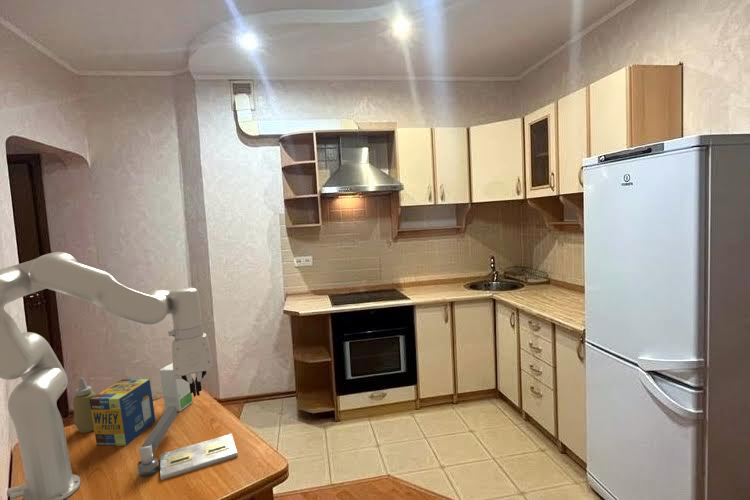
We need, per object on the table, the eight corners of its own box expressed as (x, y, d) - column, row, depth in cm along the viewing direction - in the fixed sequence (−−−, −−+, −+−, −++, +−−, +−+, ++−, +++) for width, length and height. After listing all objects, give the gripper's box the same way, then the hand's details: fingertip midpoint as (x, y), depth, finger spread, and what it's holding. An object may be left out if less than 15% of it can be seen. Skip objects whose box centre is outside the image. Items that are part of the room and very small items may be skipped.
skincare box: (180, 412, 158) (174, 370, 156) (163, 411, 160) (157, 370, 158) (194, 401, 166) (188, 361, 164) (178, 401, 168) (172, 361, 166)
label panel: (161, 480, 119) (160, 474, 119) (161, 457, 130) (160, 453, 130) (237, 456, 128) (237, 451, 127) (231, 437, 138) (231, 432, 138)
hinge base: (138, 479, 120) (137, 469, 120) (139, 470, 124) (137, 460, 124) (159, 473, 122) (157, 463, 122) (159, 464, 127) (157, 454, 126)
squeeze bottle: (78, 427, 153) (69, 377, 151) (105, 420, 157) (97, 371, 154) (73, 437, 146) (64, 385, 144) (102, 430, 149) (93, 379, 147)
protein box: (95, 446, 140) (88, 399, 138) (129, 421, 155) (122, 378, 153) (126, 446, 138) (118, 398, 136) (156, 421, 153) (150, 378, 151)
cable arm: (151, 463, 122) (149, 448, 121) (139, 465, 121) (137, 450, 121) (178, 418, 147) (176, 406, 146) (169, 419, 146) (167, 407, 146)
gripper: (159, 341, 118) (167, 406, 121) (218, 330, 125) (225, 392, 127) (159, 334, 125) (167, 396, 127) (215, 324, 131) (222, 383, 134)
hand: (196, 394), depth 127 cm, fingers closed
